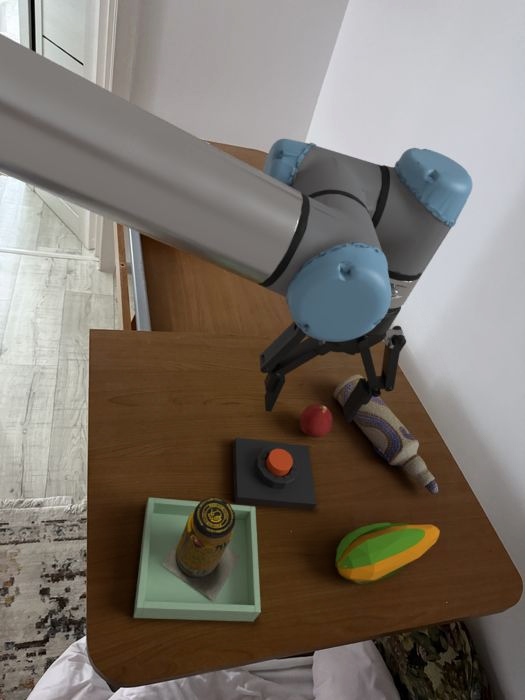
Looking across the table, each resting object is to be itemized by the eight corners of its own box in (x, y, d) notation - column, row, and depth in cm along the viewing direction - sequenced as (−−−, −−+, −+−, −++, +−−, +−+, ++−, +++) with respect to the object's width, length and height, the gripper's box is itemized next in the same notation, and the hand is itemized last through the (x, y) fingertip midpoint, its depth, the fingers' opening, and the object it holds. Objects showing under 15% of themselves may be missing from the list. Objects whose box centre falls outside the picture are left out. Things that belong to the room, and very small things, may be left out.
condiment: (191, 523, 73) (207, 480, 65) (240, 557, 72) (263, 517, 64) (161, 565, 68) (175, 524, 60) (213, 602, 66) (235, 565, 58)
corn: (336, 529, 71) (437, 495, 81) (316, 549, 77) (413, 515, 86) (362, 582, 67) (465, 540, 77) (338, 599, 73) (437, 558, 82)
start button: (266, 474, 79) (269, 468, 78) (265, 453, 82) (268, 447, 81) (290, 477, 80) (294, 471, 79) (288, 456, 83) (291, 450, 82)
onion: (296, 416, 95) (311, 388, 89) (325, 426, 95) (341, 399, 90) (291, 440, 90) (306, 412, 85) (321, 450, 91) (338, 424, 85)
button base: (233, 504, 78) (240, 491, 76) (232, 444, 86) (238, 431, 83) (312, 510, 81) (321, 498, 79) (304, 453, 89) (311, 440, 86)
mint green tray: (133, 618, 63) (136, 607, 61) (145, 510, 74) (148, 497, 71) (253, 622, 67) (260, 612, 64) (248, 518, 77) (255, 506, 75)
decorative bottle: (325, 400, 100) (338, 377, 95) (352, 390, 104) (365, 368, 100) (413, 510, 87) (433, 490, 82) (440, 494, 91) (460, 474, 87)
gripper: (276, 292, 52) (227, 420, 66) (474, 330, 57) (389, 440, 72) (270, 251, 57) (226, 377, 72) (452, 289, 63) (377, 400, 77)
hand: (307, 409), depth 72 cm, fingers open, 11 cm apart
